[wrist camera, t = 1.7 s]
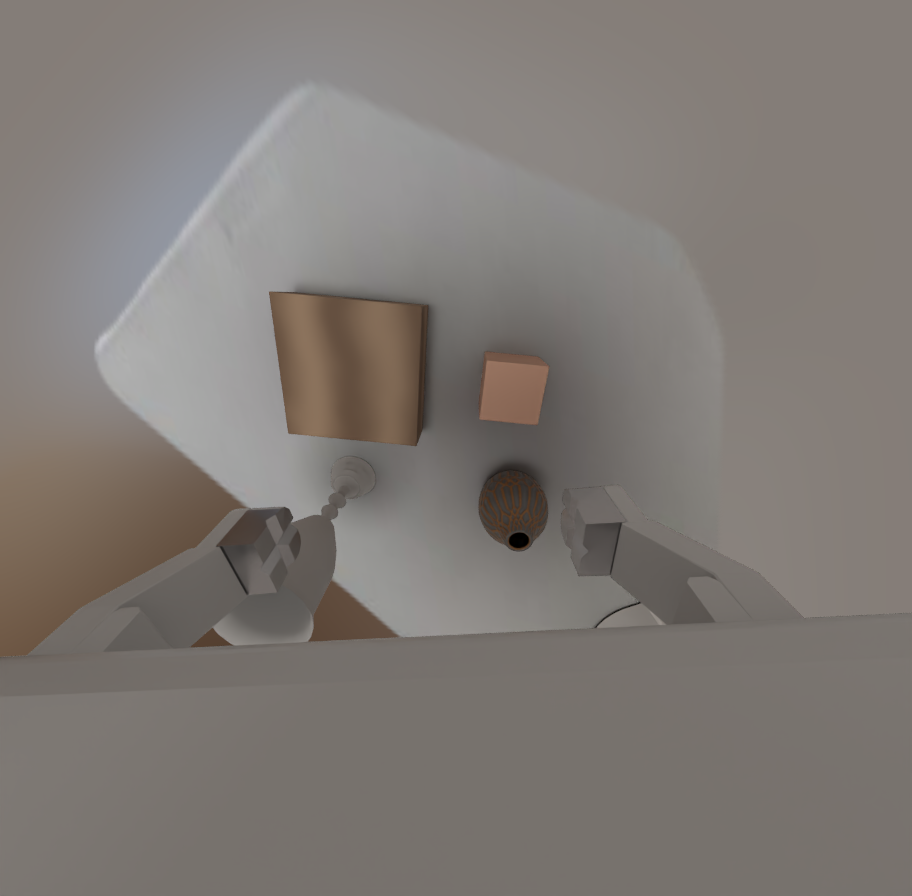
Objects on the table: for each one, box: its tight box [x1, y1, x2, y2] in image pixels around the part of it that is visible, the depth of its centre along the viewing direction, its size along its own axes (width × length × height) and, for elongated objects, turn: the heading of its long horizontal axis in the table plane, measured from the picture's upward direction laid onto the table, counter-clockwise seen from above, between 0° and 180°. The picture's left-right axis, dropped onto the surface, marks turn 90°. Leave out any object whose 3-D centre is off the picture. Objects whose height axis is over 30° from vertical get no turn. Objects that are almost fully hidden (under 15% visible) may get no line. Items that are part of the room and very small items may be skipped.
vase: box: [479, 471, 548, 551], centre depth 33 cm, size 7×7×9 cm
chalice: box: [213, 456, 376, 646], centre depth 29 cm, size 7×7×18 cm
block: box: [479, 352, 549, 425], centre depth 30 cm, size 5×5×5 cm
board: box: [269, 292, 428, 446], centre depth 30 cm, size 12×12×4 cm
